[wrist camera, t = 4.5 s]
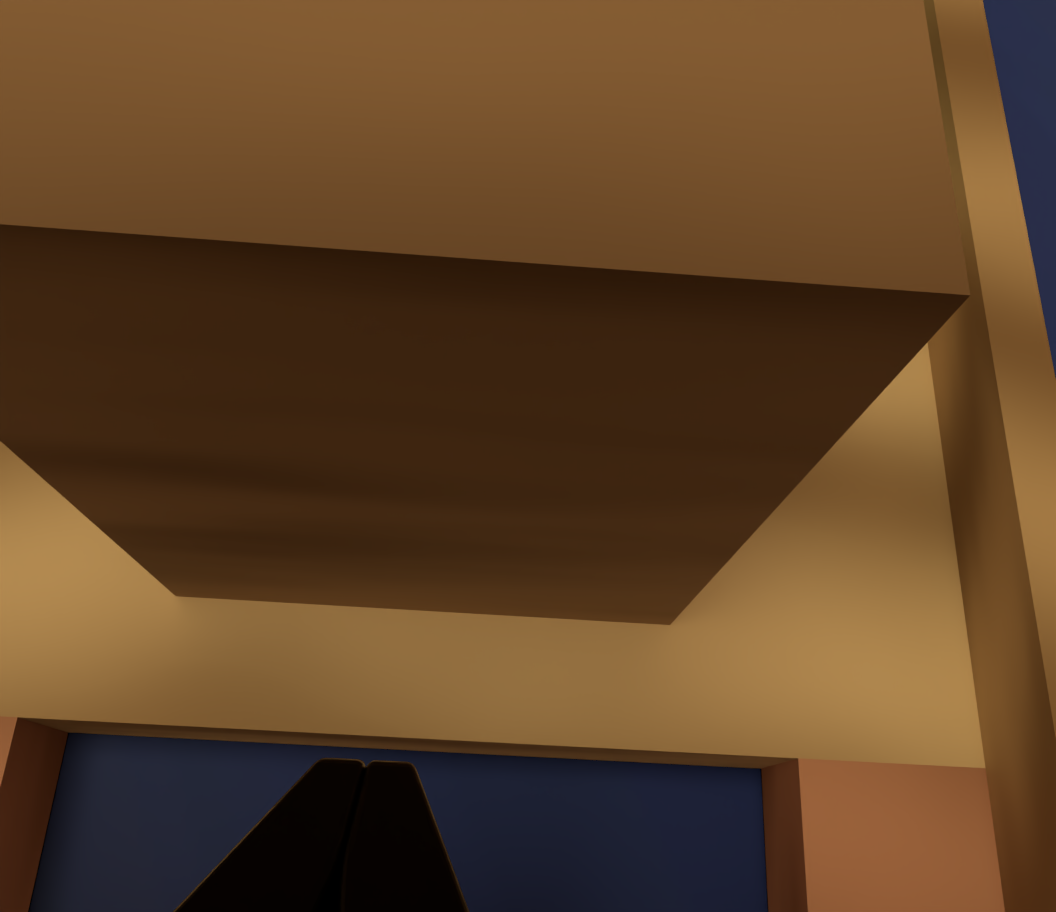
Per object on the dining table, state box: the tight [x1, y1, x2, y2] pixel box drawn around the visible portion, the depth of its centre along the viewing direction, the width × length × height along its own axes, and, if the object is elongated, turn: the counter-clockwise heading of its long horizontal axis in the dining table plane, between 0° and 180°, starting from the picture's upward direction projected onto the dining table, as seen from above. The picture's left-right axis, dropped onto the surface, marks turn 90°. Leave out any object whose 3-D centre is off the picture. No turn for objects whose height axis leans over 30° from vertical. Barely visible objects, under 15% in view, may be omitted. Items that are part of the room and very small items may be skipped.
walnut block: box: [0, 0, 970, 625], centre depth 12 cm, size 8×8×10 cm
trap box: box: [0, 0, 1056, 912], centre depth 19 cm, size 51×20×4 cm, turn 177°
